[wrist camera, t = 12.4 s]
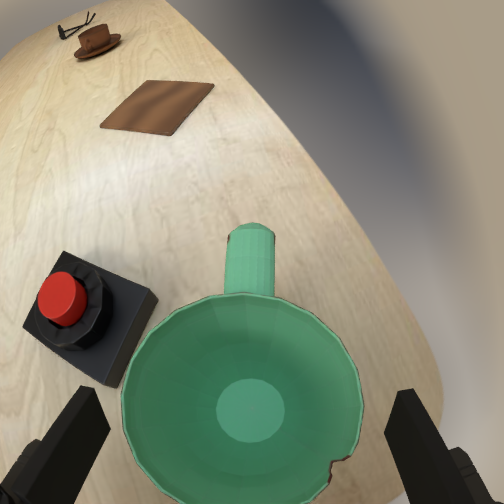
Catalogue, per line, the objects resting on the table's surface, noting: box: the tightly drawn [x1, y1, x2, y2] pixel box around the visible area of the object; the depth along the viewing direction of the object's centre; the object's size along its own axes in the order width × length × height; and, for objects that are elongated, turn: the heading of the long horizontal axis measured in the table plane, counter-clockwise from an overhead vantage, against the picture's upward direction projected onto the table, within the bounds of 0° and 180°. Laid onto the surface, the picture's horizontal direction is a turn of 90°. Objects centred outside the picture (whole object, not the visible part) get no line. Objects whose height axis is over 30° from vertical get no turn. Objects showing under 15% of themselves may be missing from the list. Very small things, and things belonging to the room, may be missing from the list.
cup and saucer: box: [74, 24, 121, 59], centre depth 52 cm, size 12×12×6 cm
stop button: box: [38, 272, 87, 326], centre depth 19 cm, size 4×4×2 cm
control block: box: [23, 251, 158, 388], centre depth 21 cm, size 10×8×4 cm
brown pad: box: [100, 80, 214, 136], centre depth 38 cm, size 12×12×1 cm
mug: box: [121, 223, 364, 504], centre depth 16 cm, size 15×10×10 cm
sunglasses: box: [58, 11, 96, 39], centre depth 71 cm, size 17×14×5 cm
